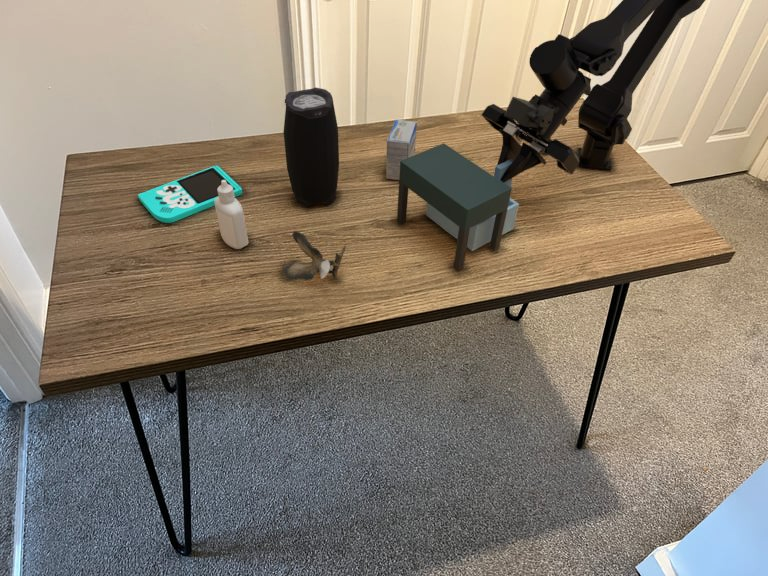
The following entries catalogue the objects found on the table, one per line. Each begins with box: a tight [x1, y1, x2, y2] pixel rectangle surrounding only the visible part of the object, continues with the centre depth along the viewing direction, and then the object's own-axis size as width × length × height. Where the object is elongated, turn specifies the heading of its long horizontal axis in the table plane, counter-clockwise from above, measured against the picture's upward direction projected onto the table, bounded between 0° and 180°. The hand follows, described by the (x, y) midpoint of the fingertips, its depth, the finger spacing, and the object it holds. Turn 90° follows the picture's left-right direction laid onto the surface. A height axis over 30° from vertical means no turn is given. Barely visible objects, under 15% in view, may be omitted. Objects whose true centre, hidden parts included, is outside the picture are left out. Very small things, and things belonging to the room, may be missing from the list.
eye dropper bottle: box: [214, 180, 250, 250], centre depth 97 cm, size 4×6×12 cm
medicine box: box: [385, 119, 418, 181], centre depth 114 cm, size 8×4×9 cm, turn 168°
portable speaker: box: [283, 87, 340, 208], centre depth 103 cm, size 9×9×20 cm
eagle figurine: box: [282, 230, 347, 281], centre depth 94 cm, size 8×7×9 cm
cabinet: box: [396, 143, 513, 272], centre depth 99 cm, size 10×16×12 cm, turn 38°
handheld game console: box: [137, 165, 244, 224], centre depth 109 cm, size 10×16×1 cm, turn 129°
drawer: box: [425, 159, 520, 252], centre depth 103 cm, size 14×12×10 cm
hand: (498, 179), depth 104 cm, fingers closed on drawer
